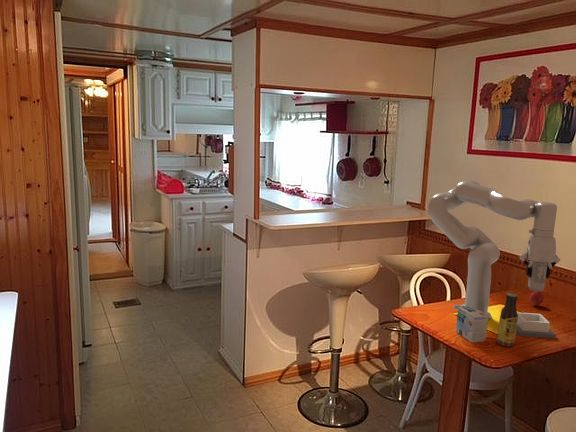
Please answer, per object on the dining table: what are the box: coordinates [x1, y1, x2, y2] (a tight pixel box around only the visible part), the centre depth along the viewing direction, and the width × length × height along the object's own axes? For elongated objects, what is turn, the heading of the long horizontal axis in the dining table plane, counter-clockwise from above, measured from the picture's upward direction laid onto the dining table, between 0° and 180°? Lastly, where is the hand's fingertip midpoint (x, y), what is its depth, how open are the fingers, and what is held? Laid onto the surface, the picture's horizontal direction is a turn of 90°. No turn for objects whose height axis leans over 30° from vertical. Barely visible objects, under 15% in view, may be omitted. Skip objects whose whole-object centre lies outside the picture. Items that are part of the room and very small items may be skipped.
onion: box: [529, 291, 544, 307], centre depth 236 cm, size 6×6×8 cm
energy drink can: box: [527, 259, 548, 292], centre depth 203 cm, size 6×6×15 cm
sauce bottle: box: [496, 292, 519, 347], centre depth 192 cm, size 6×6×20 cm
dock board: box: [516, 311, 557, 339], centre depth 207 cm, size 14×14×6 cm
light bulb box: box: [455, 306, 489, 343], centre depth 199 cm, size 11×7×11 cm, turn 16°
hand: (537, 276), depth 204 cm, fingers closed on energy drink can, 6 cm apart
